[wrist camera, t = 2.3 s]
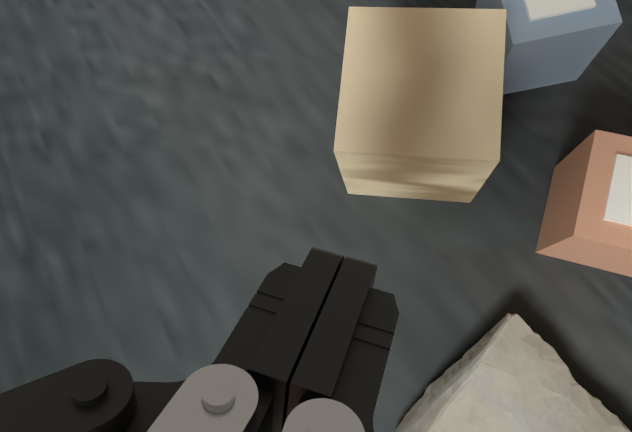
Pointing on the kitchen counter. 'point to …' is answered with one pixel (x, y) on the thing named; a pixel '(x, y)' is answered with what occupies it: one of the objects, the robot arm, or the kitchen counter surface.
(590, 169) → the terracotta label block
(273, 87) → the kitchen counter surface
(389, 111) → the plain block
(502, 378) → the stone tool
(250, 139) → the kitchen counter surface
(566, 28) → the blue label block
